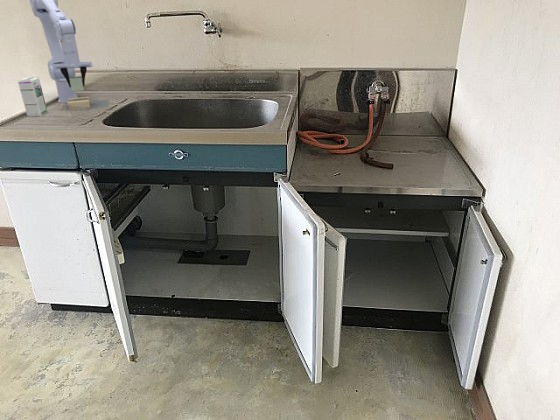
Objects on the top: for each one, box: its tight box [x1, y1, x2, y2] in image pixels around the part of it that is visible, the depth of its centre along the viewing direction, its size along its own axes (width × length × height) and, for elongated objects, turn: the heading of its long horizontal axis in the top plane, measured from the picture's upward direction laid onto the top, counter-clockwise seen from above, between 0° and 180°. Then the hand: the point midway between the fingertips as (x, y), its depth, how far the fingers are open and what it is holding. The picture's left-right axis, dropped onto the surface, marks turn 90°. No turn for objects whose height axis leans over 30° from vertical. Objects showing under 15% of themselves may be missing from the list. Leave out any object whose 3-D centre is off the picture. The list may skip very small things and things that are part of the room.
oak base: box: [67, 96, 91, 111], centre depth 197 cm, size 8×8×3 cm
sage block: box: [69, 75, 85, 92], centre depth 194 cm, size 4×4×5 cm
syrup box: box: [17, 76, 48, 117], centre depth 186 cm, size 6×6×14 cm
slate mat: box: [65, 99, 110, 112], centre depth 200 cm, size 14×17×1 cm
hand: (77, 86), depth 194 cm, fingers closed on sage block, 4 cm apart
